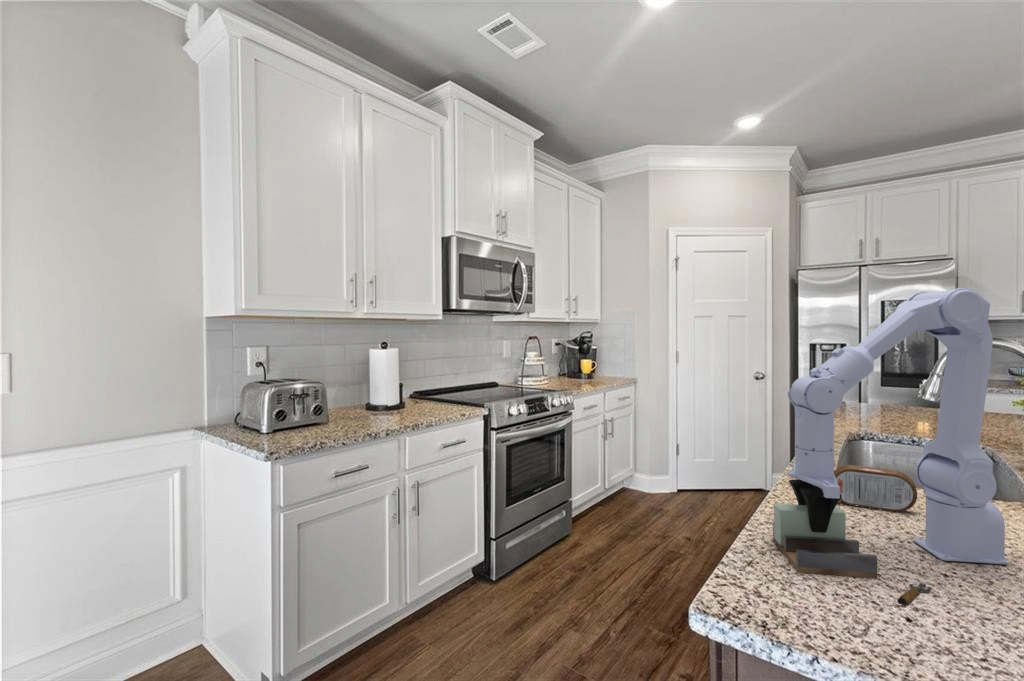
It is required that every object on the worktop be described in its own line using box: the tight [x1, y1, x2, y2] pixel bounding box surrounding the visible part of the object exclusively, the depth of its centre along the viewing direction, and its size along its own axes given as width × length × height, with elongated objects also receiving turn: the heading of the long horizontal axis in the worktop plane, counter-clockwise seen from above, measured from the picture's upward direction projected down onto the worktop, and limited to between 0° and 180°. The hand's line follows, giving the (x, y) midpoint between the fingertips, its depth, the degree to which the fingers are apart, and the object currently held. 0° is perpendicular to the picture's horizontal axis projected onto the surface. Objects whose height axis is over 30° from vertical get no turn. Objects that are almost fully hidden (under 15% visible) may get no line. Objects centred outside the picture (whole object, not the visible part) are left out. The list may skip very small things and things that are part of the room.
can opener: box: [897, 581, 933, 606], centre depth 72 cm, size 9×2×1 cm, turn 119°
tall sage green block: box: [773, 503, 847, 546], centre depth 86 cm, size 3×10×6 cm, turn 79°
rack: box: [772, 522, 878, 579], centre depth 83 cm, size 11×12×3 cm
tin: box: [834, 464, 918, 513], centre depth 107 cm, size 15×3×8 cm, turn 58°
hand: (814, 527), depth 86 cm, fingers closed on tall sage green block, 3 cm apart
